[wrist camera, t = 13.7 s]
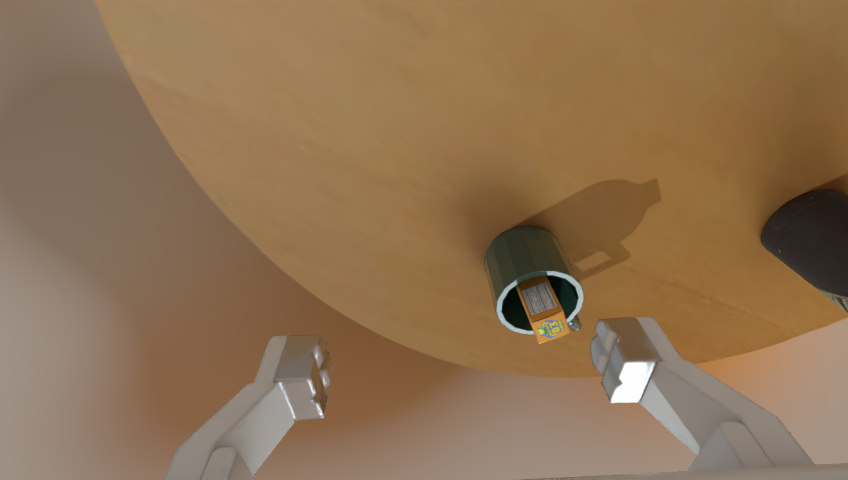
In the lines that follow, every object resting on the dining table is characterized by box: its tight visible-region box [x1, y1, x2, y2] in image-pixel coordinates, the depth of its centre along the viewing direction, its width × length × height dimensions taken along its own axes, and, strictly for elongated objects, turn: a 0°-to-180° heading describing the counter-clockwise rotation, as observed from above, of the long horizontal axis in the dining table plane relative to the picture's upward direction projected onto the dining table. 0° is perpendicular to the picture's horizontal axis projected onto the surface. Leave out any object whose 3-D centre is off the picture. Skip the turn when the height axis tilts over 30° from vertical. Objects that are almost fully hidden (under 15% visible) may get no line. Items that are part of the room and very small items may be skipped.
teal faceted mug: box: [485, 226, 584, 334], centre depth 43 cm, size 12×8×8 cm
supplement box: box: [516, 276, 570, 344], centre depth 41 cm, size 3×3×10 cm
